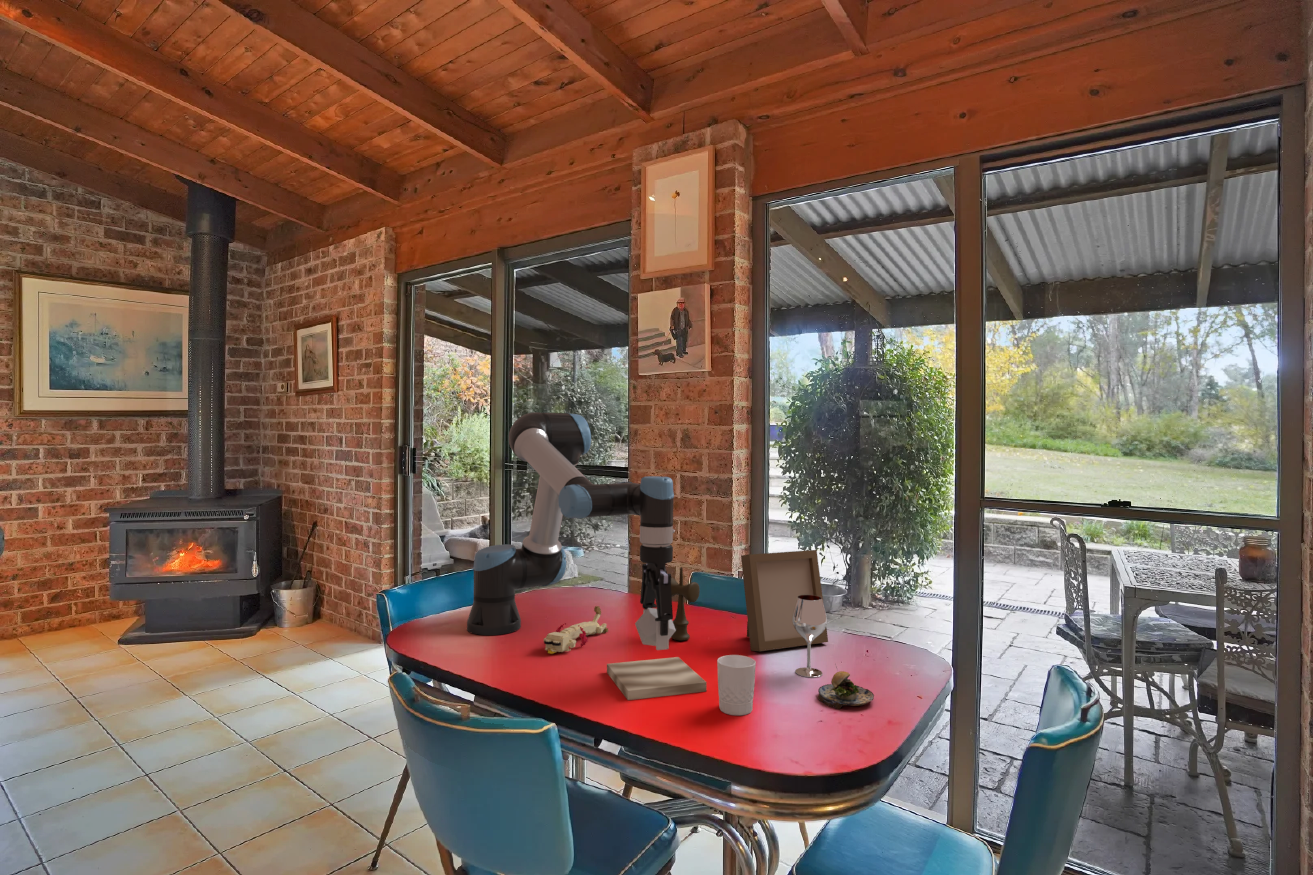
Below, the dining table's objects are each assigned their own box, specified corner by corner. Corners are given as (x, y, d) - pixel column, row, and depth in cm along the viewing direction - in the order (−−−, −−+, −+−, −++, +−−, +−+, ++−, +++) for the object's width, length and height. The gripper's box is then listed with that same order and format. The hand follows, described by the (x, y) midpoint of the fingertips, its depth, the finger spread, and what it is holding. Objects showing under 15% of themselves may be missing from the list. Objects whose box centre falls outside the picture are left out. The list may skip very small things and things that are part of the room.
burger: (841, 715, 141) (841, 678, 141) (806, 695, 152) (807, 661, 152) (887, 706, 146) (887, 671, 146) (850, 687, 157) (850, 654, 157)
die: (680, 644, 160) (665, 606, 165) (678, 635, 153) (663, 595, 157) (647, 658, 159) (633, 619, 164) (644, 649, 152) (629, 609, 156)
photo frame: (828, 645, 187) (829, 553, 187) (759, 655, 179) (760, 557, 178) (795, 631, 201) (796, 544, 201) (730, 639, 192) (731, 549, 192)
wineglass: (806, 681, 160) (807, 603, 160) (784, 670, 167) (785, 595, 167) (833, 675, 164) (834, 599, 164) (810, 665, 171) (811, 592, 171)
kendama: (673, 633, 197) (674, 563, 197) (700, 640, 191) (701, 567, 191) (659, 638, 192) (660, 566, 192) (687, 645, 186) (688, 570, 186)
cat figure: (583, 634, 200) (531, 650, 178) (585, 603, 201) (534, 616, 178) (614, 639, 196) (564, 656, 173) (615, 607, 196) (566, 621, 174)
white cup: (713, 702, 147) (714, 655, 147) (750, 701, 147) (751, 654, 147) (720, 717, 139) (720, 667, 139) (759, 716, 139) (759, 666, 139)
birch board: (606, 672, 164) (606, 663, 164) (678, 665, 170) (678, 656, 170) (627, 700, 147) (627, 690, 147) (706, 691, 153) (706, 682, 153)
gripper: (688, 551, 149) (687, 655, 149) (657, 537, 170) (656, 628, 170) (655, 552, 147) (654, 658, 147) (627, 538, 167) (626, 631, 167)
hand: (655, 642), depth 158 cm, fingers closed on die, 9 cm apart
